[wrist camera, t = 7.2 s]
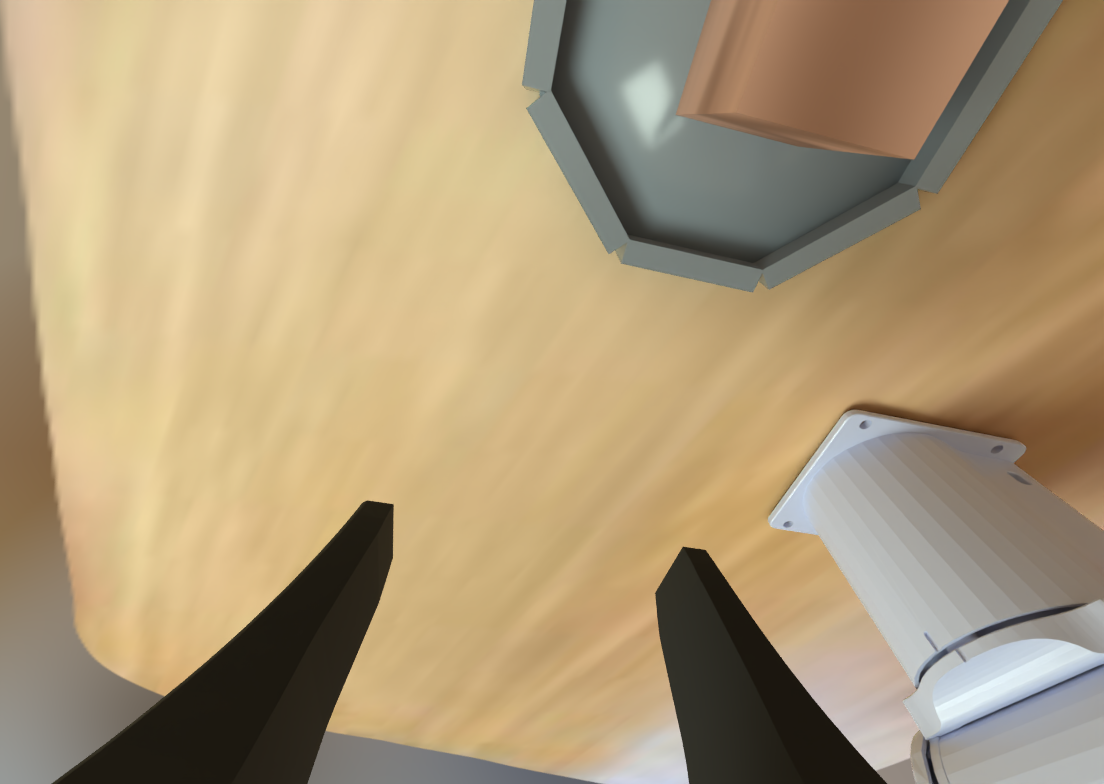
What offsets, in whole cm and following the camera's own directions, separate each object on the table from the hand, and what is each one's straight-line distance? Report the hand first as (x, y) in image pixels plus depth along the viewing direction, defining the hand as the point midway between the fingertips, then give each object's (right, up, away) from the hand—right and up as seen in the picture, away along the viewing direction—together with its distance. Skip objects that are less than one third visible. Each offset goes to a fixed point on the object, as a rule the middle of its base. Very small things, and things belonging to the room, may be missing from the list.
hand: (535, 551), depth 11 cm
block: (+6, +14, +1) cm, 15 cm away
